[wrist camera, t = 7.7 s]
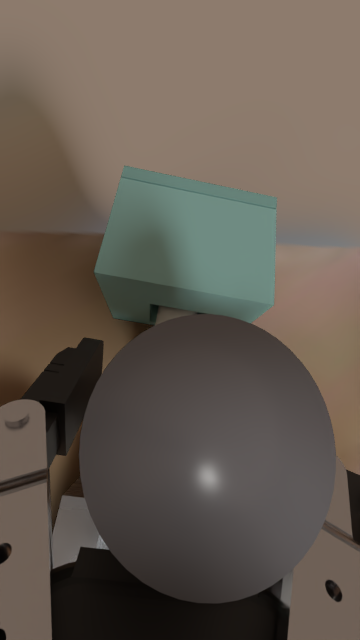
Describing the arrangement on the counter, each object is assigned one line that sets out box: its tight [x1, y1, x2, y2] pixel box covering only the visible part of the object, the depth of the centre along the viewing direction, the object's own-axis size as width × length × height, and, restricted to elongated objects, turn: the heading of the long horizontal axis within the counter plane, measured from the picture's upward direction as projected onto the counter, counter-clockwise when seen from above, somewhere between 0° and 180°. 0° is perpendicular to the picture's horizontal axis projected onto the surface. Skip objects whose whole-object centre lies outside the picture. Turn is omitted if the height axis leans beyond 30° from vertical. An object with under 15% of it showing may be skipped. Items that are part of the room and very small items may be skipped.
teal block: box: [94, 166, 277, 325], centre depth 17 cm, size 9×7×7 cm
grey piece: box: [79, 305, 336, 603], centre depth 10 cm, size 3×18×14 cm, turn 172°
